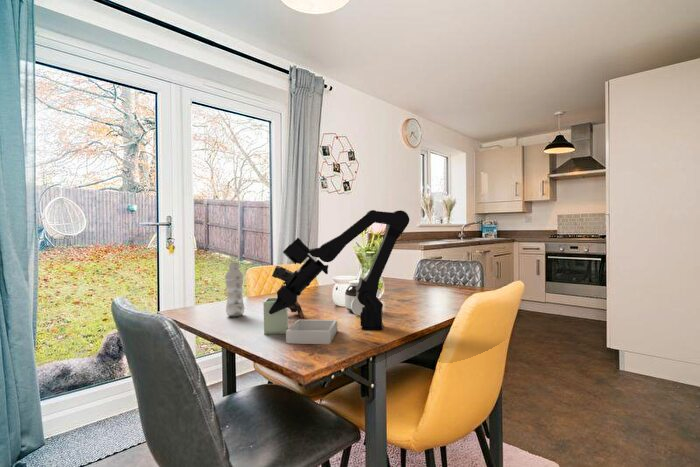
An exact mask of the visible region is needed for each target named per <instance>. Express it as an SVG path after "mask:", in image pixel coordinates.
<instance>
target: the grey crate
mask: <svg viewBox="0 0 700 467" xmlns="http://www.w3.org/2000/svg"><path fill="white" fill-rule="evenodd" d="M337 333H338V320H337V319H304V318H303V319H302V318H300V319H296V321H295V322H294V323H292V324H291V325H290V326H288V329H287V330H286V334H285V343H286V344H298V345H299V344H301V345H302V344H303V345H305V344H307V345H331V344H332V342H333V340H334V338H335V336H336V334H337Z"/></svg>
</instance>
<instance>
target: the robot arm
mask: <svg viewBox="0 0 700 467" xmlns="http://www.w3.org/2000/svg"><path fill="white" fill-rule="evenodd" d="M375 223H376V224H382V225H385V231H384V236H383V239H382V240H381V242H380V245H379V247H378V250H377V252H376V255H375V257H374V259H373V261H372V264H371V266H370V268H369V271H368V273H367V275H366V276H365V277H364V278H362V277H361V276H360V277H359V279H358V280H359V283H358V285H357V287H356V288H355V289H356V290H357V291H356V296H357V298H358V300H359V302H360V303H361V304H362V305H364V306H365V307H363V308H362V312H361V314H360V316H359V317H360V327H361V330H363V331H364V330H367V331H368V330H370V331H372V330H376V331H383V327H384V323H383V307H384V303H383V302H382V301H381V300H380V299H379V298H378V296H377V295H378V291H379V285H380V280H381V276H382V274H383V272H384V271H385V268H386V265H387V263H388V261H389V258H390V256H391V254H392V251H393V249H394V248H395V247H394V246H395V245H396V242H397V240H398V239H399V238H400V237H401V235H402V234H403V233H404V231H405V230H406V228H407V227H408V225H409V224H410V216H409V214H408V213H407V212H406V211H404V210H394V211H393V212H390V211H378V210H374V209H373V210H368V211H367V212H366V214H365V215H363V216H362V217H360V218H359V219H358V220H357V221H356V222H355V223H353V224H352V225H350V227H348V228H347V229H346V230H345V231H343V232H342V233H341V234H339V235H338V236H336V237H334V238H332V239H330V240H328V241H326V242H324V243H323V244H321V245H320V246H319V247H316V248H315V247H314V248H313V247H312V248H309V246H307V245H306V244H305V243H304V242H303V240H302V239H301V238H299V237H297V238H296V239H295V240H294V241H293V242H292V243H291V244H289V245H288V246H287V247H286V248H285V249H284V250H283V251H282V253H283V254H284V255H285V256H286V258H288V259H289V260H290V261H291V262H292V263H293V264H294V265H296V264H298V265H301V266H300V267H299V268H298V269H295V271H294V272H293V271H291V270H289V269H287V268H286V267H283V266H279V265H276V266H275V268H274V269H273V272H272V275H271V277H272V278H274V279H278V280H281V281H283V283H282V284H281V287H280V288H279V289H278V290H277V291H276V296H277V297H276V298H277V300H276V301H275V303H274V304H273V306H272V307H271V309H270V310H269V313H270V314H273V313H276V312H278V311H280V310H282V309H285V308H287V307H289V306H293V305H294V304H295V303H296V302H298V301H299V300H298V298H299V297H300V295H301V293H302V292H303V291H304V290H305V289H306V288H307V287H309V286H310V285H311V283H312V282H313V281H314V280H315V279H316V278H317V277H318V276H319V274H320V273H321V272H323V273H324V274H325V275H328V274H329V271H328V270H329V265H328V264H324V263H330V262H331V263H332V261H334V260H335V259H336V258H337V257H338V255H339V254H340V253H341V252H342V251H343V249H344V248H345V247H346V246H347V245H348V244H349V243H350V242H352V241H353V240H355V239H356V238H357V237H358V236H359V235H360V234H362V233H363V232H364V231H366V230H367V229H368V228H369V227H370V226H372V225H373V224H375ZM307 258H308V259H307ZM315 258H317V259H315ZM305 260H306V261H305ZM303 262H304V263H303ZM323 262H324V263H323ZM302 263H303V264H302ZM287 309H288V308H287Z"/></svg>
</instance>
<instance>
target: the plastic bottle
mask: <svg viewBox="0 0 700 467" xmlns="http://www.w3.org/2000/svg"><path fill="white" fill-rule="evenodd" d="M224 281H225V285H226V306H225V312H226V315H227V316H228V317H232V318H233V317H236V316H237V317H240V316H243V314H244V313H245V303H244V298H243V283H244V274H243V273H242V271H241V270H240V262H239V261H238V262H237V261H234V262H228V271H227V272H226V273H225V275H224Z"/></svg>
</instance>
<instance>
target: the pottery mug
mask: <svg viewBox="0 0 700 467" xmlns="http://www.w3.org/2000/svg"><path fill="white" fill-rule="evenodd" d="M287 309H289V310H290V312H291V313H297V314H298V316H300V319H302V318H304V312H303V309H302V306H301V305H300V303H299V302H298V301H297V302H296V303H295V304H294V305H293V306H289V307H287Z"/></svg>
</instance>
